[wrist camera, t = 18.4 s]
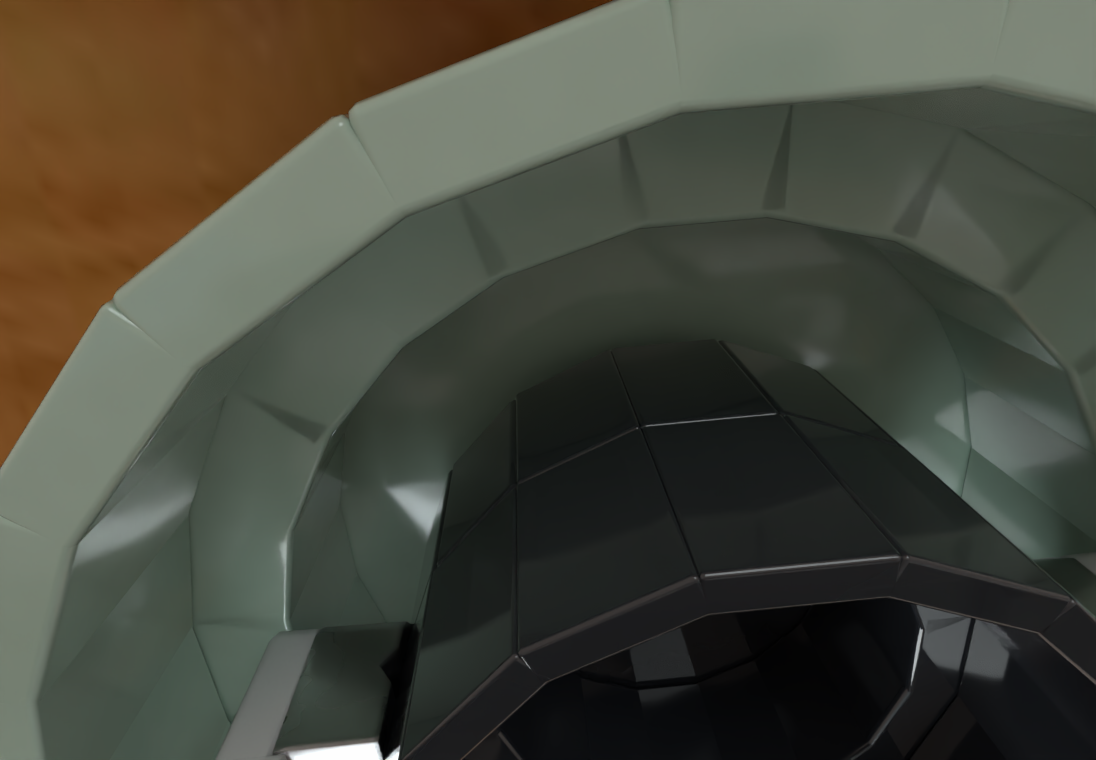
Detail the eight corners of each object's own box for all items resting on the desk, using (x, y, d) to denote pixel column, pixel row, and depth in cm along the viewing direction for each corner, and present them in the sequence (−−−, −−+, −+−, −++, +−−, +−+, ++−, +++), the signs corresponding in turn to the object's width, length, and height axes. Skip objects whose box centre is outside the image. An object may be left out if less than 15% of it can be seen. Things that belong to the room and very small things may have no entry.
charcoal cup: (908, 305, 8) (1316, 515, 4) (854, 680, 11) (1071, 1047, 7) (398, 352, 8) (276, 616, 4) (465, 718, 11) (435, 1116, 7)
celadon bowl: (1148, 6, 8) (2177, -151, 3) (969, 727, 13) (1250, 1116, 8) (124, 93, 8) (-540, 80, 3) (338, 788, 13) (225, 1221, 8)
